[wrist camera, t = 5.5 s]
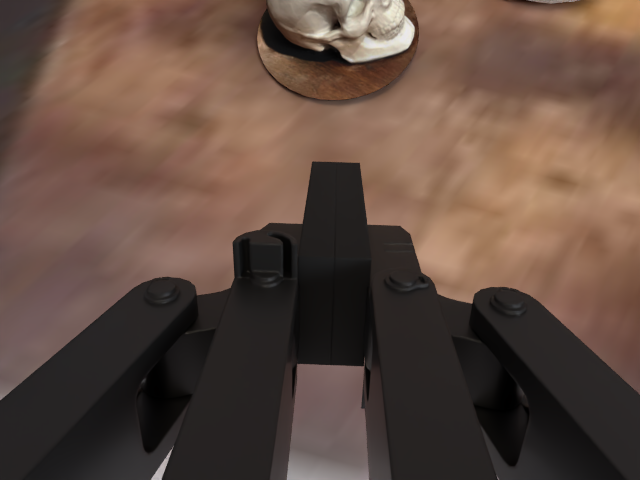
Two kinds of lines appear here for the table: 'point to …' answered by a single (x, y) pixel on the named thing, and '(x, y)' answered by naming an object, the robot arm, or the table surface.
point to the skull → (337, 44)
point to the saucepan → (553, 1)
